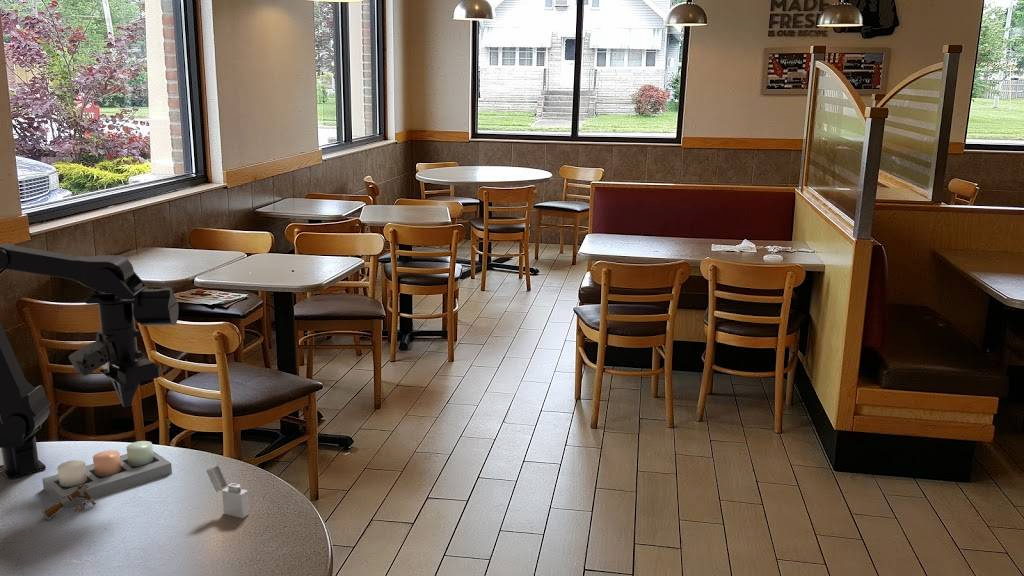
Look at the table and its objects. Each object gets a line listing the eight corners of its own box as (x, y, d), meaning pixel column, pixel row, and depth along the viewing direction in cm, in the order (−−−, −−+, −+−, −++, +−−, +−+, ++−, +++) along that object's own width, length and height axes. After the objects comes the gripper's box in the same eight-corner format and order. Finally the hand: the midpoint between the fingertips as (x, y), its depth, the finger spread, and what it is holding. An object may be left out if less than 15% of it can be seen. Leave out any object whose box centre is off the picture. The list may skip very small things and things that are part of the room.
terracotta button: (90, 470, 159) (89, 455, 158) (115, 463, 162) (113, 448, 161) (100, 478, 156) (98, 462, 155) (125, 470, 159) (123, 455, 158)
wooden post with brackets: (101, 501, 149) (87, 482, 147) (57, 532, 146) (42, 513, 144) (99, 498, 151) (85, 478, 149) (54, 528, 147) (39, 509, 145)
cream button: (55, 481, 154) (53, 465, 154) (81, 473, 157) (79, 458, 157) (64, 489, 151) (62, 473, 151) (91, 481, 154) (89, 465, 154)
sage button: (124, 460, 163) (122, 445, 162) (147, 453, 166) (145, 439, 165) (134, 467, 160) (132, 452, 159) (157, 460, 163) (156, 445, 162)
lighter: (249, 513, 147) (246, 469, 145) (243, 518, 146) (239, 474, 144) (216, 505, 150) (212, 462, 148) (209, 510, 148) (205, 466, 146)
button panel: (43, 488, 156) (42, 478, 155) (148, 457, 169) (147, 447, 169) (64, 507, 149) (62, 496, 149) (172, 472, 162) (171, 463, 162)
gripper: (51, 324, 160) (61, 405, 163) (93, 345, 147) (103, 432, 151) (113, 313, 167) (121, 390, 171) (158, 332, 155) (165, 415, 159)
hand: (126, 406), depth 163 cm, fingers closed
